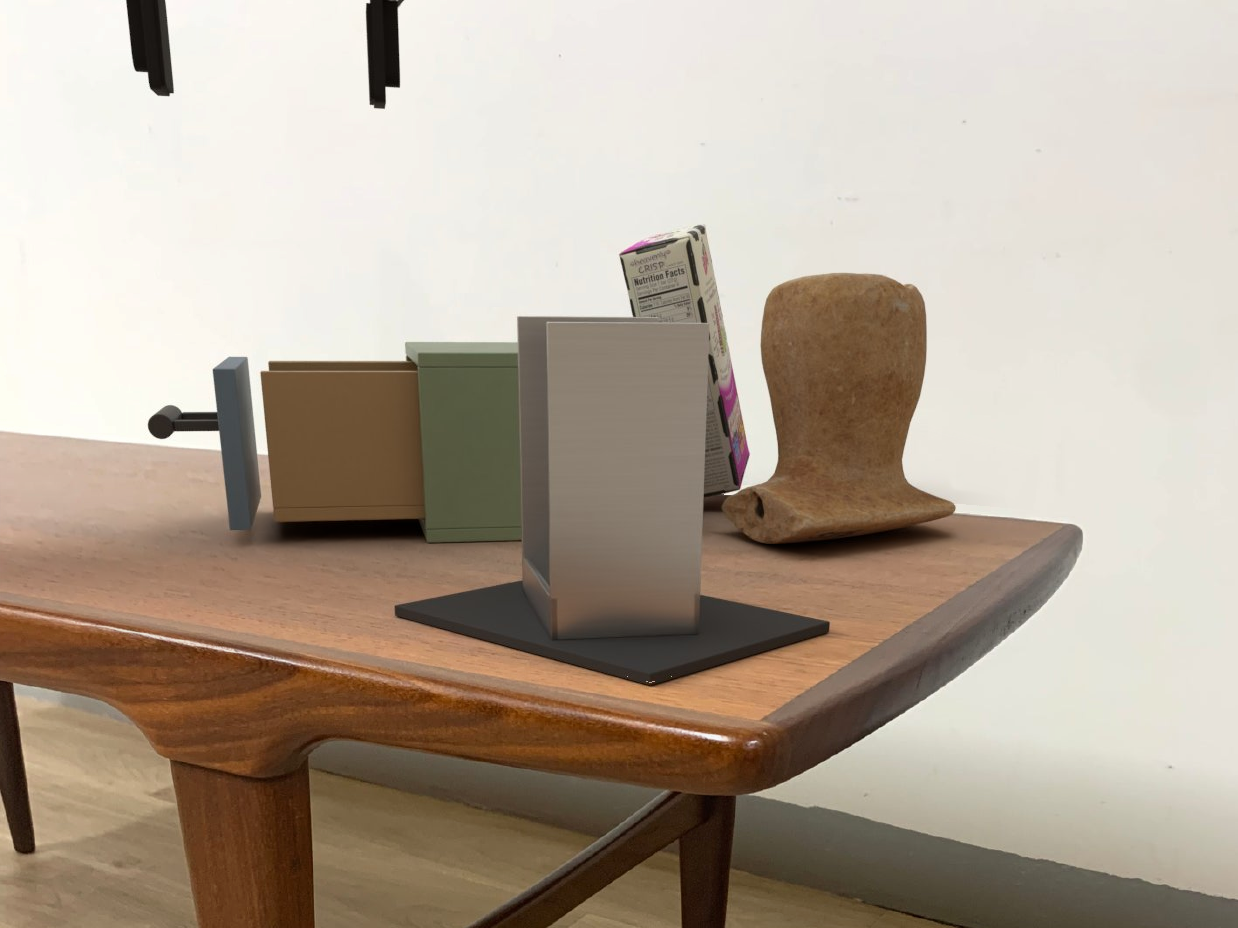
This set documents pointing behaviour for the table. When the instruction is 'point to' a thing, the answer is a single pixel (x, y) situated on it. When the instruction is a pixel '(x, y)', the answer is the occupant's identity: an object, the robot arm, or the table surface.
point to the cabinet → (469, 440)
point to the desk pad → (642, 659)
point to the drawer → (316, 439)
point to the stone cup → (839, 410)
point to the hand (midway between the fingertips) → (271, 99)
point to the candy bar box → (687, 293)
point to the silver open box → (612, 473)
